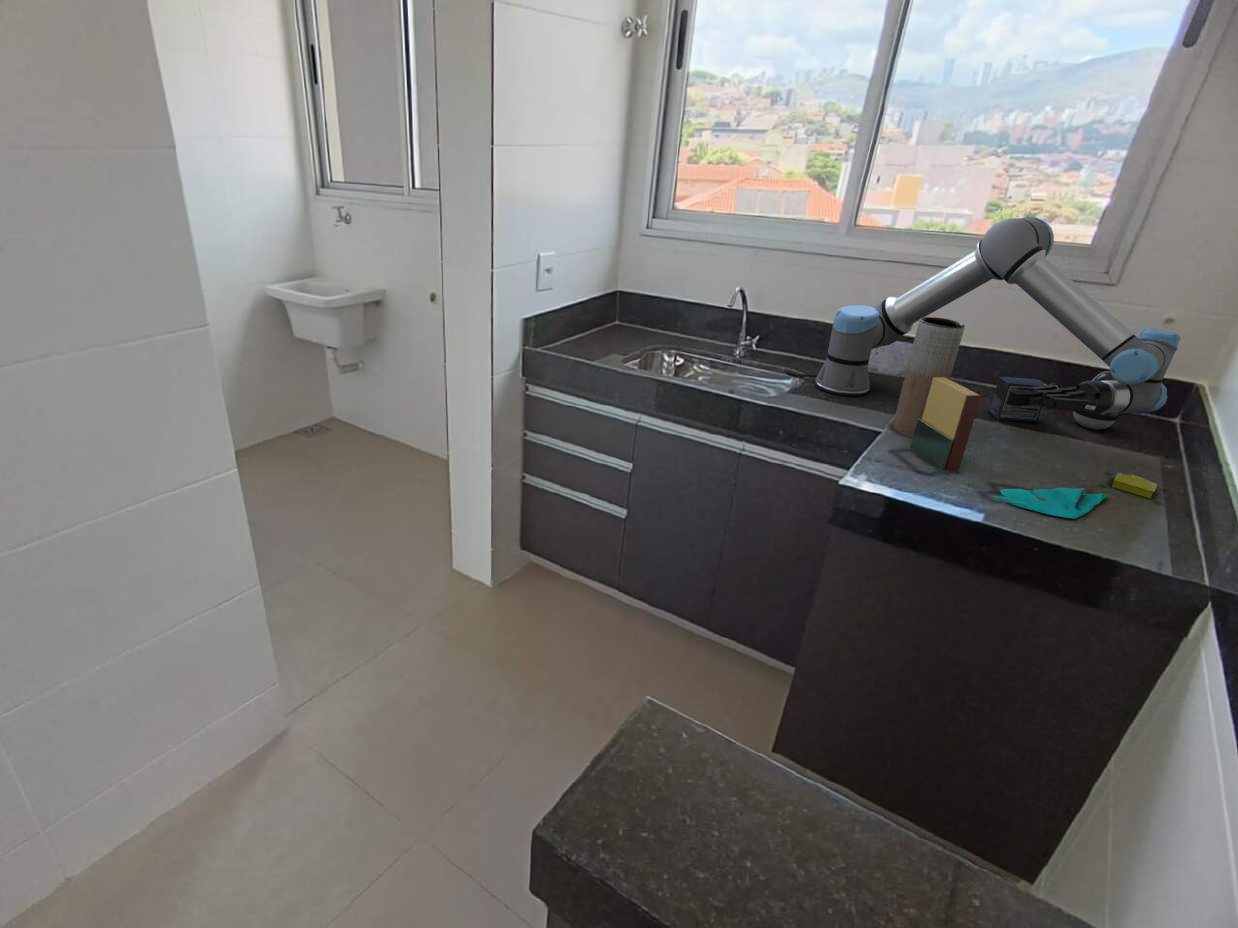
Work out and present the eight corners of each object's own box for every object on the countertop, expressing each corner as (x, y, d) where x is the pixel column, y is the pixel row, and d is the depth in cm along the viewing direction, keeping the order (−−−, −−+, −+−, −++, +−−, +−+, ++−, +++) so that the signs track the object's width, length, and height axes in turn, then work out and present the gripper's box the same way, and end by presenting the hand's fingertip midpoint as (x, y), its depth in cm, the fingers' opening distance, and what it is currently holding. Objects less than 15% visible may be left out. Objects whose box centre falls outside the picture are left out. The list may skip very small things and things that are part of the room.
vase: (907, 439, 161) (937, 327, 149) (884, 423, 169) (911, 316, 157) (942, 438, 163) (974, 327, 151) (918, 422, 171) (947, 317, 159)
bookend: (921, 474, 143) (931, 440, 140) (891, 450, 154) (899, 419, 150) (943, 473, 144) (953, 439, 141) (911, 450, 155) (920, 418, 151)
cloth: (998, 513, 129) (1002, 503, 128) (972, 481, 141) (975, 471, 140) (1137, 526, 127) (1142, 516, 126) (1098, 493, 139) (1102, 483, 138)
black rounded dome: (1116, 426, 177) (1138, 372, 170) (1109, 436, 170) (1132, 380, 163) (1072, 415, 183) (1092, 363, 176) (1064, 424, 176) (1085, 370, 169)
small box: (1026, 414, 182) (1039, 378, 177) (1037, 423, 176) (1051, 386, 171) (987, 411, 182) (998, 375, 178) (997, 420, 177) (1009, 382, 172)
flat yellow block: (1102, 486, 142) (1107, 474, 141) (1109, 474, 149) (1114, 462, 147) (1158, 503, 136) (1164, 491, 135) (1163, 489, 143) (1169, 478, 141)
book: (945, 473, 144) (968, 396, 136) (912, 450, 155) (932, 377, 147) (957, 472, 145) (981, 395, 137) (924, 449, 156) (945, 377, 148)
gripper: (1117, 423, 147) (1026, 425, 142) (1070, 402, 158) (985, 403, 154) (1130, 391, 144) (1038, 393, 139) (1082, 372, 155) (995, 373, 150)
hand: (1010, 398), depth 146 cm, fingers closed
